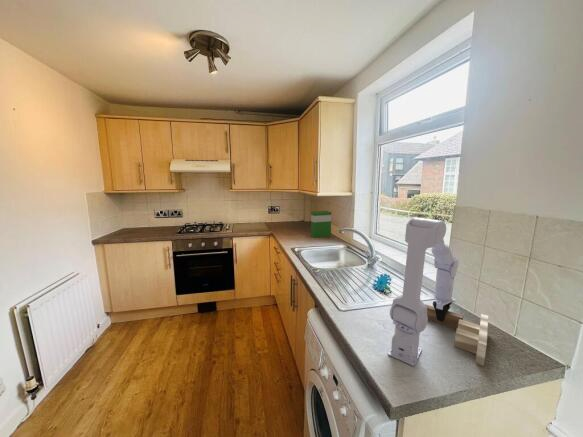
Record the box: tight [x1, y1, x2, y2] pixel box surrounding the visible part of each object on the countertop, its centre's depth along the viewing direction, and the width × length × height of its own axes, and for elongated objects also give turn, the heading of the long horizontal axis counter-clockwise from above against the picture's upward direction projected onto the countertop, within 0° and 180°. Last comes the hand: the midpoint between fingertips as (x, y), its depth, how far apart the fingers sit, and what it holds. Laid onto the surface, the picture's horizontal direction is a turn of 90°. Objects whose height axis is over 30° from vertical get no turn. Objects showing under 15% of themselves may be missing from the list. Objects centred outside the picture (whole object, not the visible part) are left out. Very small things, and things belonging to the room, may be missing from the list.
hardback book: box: [310, 210, 332, 239], centre depth 235 cm, size 18×7×24 cm, turn 108°
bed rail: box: [424, 303, 464, 330], centre depth 96 cm, size 3×14×5 cm, turn 50°
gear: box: [372, 273, 393, 293], centre depth 125 cm, size 11×6×10 cm
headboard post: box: [454, 313, 489, 367], centre depth 83 cm, size 20×8×7 cm, turn 141°
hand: (440, 318), depth 96 cm, fingers closed on bed rail, 2 cm apart
